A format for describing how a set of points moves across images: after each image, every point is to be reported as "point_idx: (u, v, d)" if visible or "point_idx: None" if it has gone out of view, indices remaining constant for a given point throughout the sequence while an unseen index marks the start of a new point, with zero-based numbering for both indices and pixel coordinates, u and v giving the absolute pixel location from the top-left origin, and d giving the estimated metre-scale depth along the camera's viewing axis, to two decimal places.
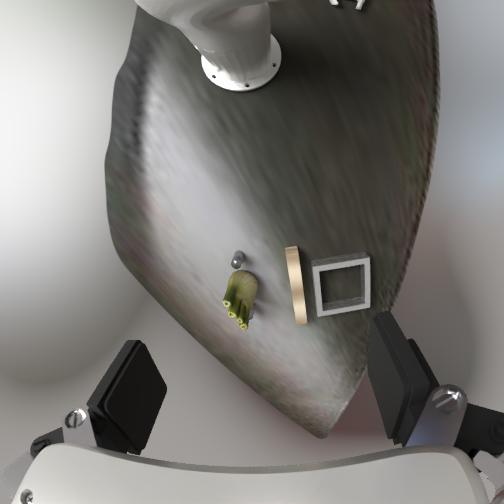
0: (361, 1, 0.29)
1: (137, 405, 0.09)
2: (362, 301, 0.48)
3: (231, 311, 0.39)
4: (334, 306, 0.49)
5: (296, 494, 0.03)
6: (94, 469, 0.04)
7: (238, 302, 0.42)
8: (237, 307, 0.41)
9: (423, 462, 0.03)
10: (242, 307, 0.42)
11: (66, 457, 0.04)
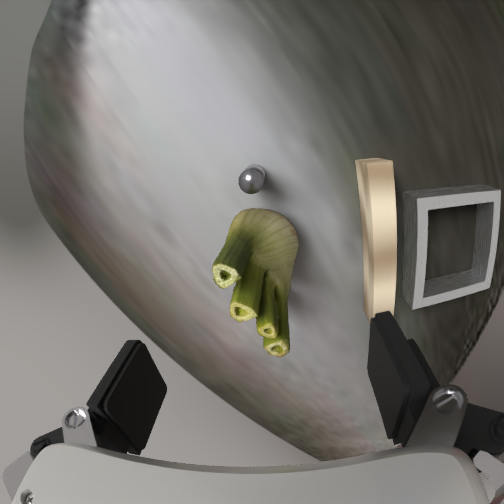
0: None
1: (137, 405, 0.09)
2: (478, 277, 0.21)
3: (241, 301, 0.12)
4: (439, 288, 0.22)
5: (296, 494, 0.03)
6: (94, 469, 0.04)
7: (260, 275, 0.15)
8: (258, 290, 0.13)
9: (423, 462, 0.03)
10: (271, 290, 0.15)
11: (66, 457, 0.04)
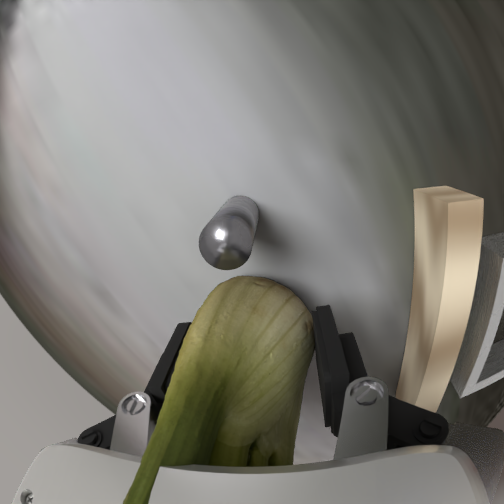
0: None
1: None
2: None
3: None
4: (493, 364, 0.12)
5: (296, 493, 0.03)
6: (94, 469, 0.04)
7: None
8: None
9: (423, 462, 0.03)
10: None
11: (66, 457, 0.04)
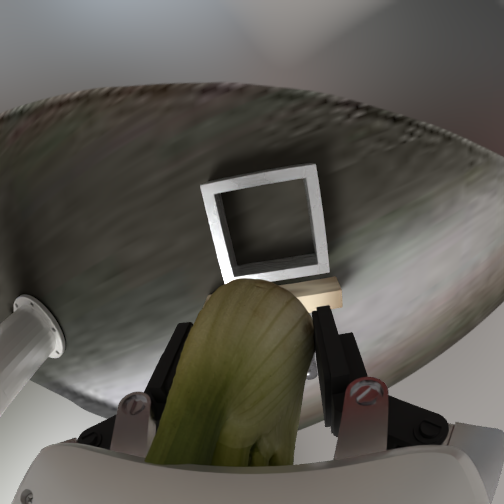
0: None
1: None
2: (305, 179, 0.24)
3: None
4: (314, 237, 0.25)
5: (296, 494, 0.03)
6: (94, 469, 0.04)
7: None
8: None
9: (423, 462, 0.03)
10: None
11: (66, 457, 0.04)
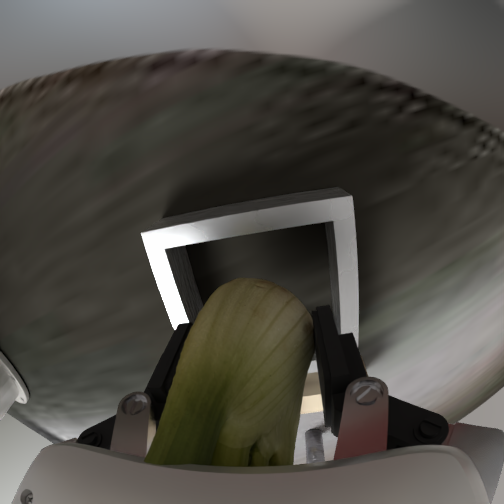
0: None
1: None
2: (330, 220, 0.13)
3: None
4: (337, 314, 0.15)
5: (296, 494, 0.03)
6: (94, 469, 0.04)
7: None
8: None
9: (423, 462, 0.03)
10: None
11: (66, 457, 0.04)
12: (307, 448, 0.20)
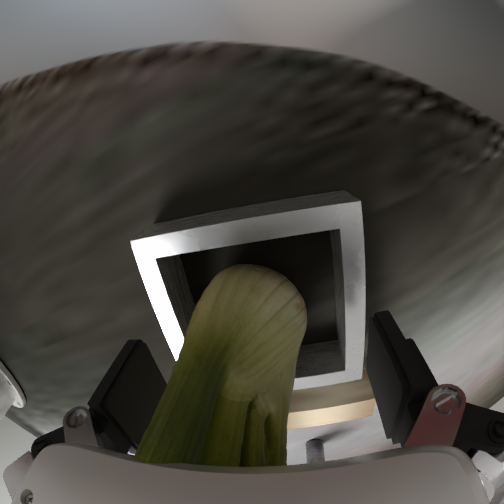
0: None
1: (138, 405, 0.09)
2: None
3: None
4: (342, 327, 0.14)
5: (296, 494, 0.03)
6: (94, 469, 0.04)
7: (239, 423, 0.07)
8: (233, 463, 0.06)
9: (423, 462, 0.03)
10: (259, 440, 0.07)
11: (66, 457, 0.04)
12: (308, 459, 0.19)
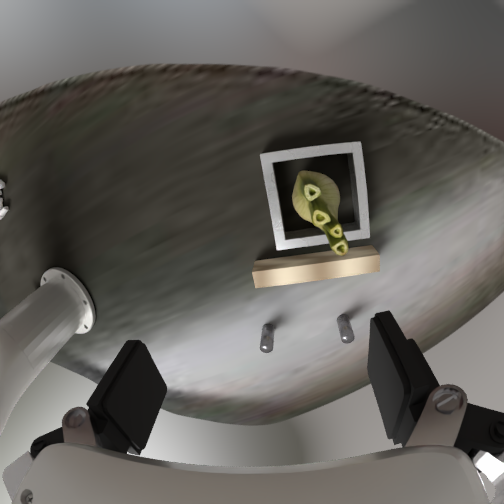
0: None
1: (137, 405, 0.09)
2: (350, 154, 0.26)
3: (320, 210, 0.19)
4: (356, 205, 0.27)
5: (295, 494, 0.03)
6: (94, 469, 0.04)
7: (324, 204, 0.21)
8: (327, 209, 0.20)
9: (423, 462, 0.03)
10: (331, 214, 0.21)
11: (66, 457, 0.04)
12: (340, 326, 0.33)
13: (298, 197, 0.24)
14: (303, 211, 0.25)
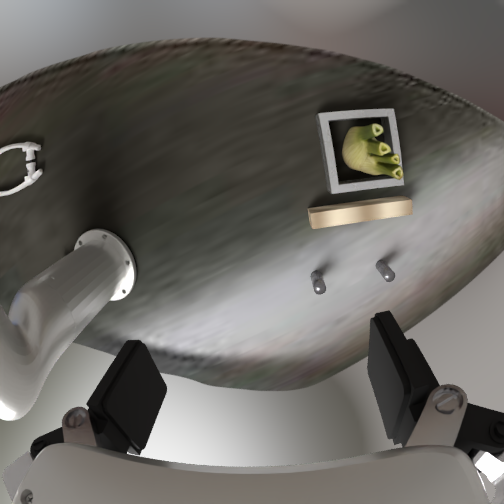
0: (31, 147, 0.33)
1: (137, 405, 0.09)
2: (385, 118, 0.29)
3: (383, 143, 0.22)
4: None
5: (295, 494, 0.03)
6: (94, 469, 0.04)
7: None
8: None
9: (423, 462, 0.03)
10: None
11: (66, 457, 0.04)
12: (381, 268, 0.37)
13: (354, 144, 0.28)
14: (358, 156, 0.28)
